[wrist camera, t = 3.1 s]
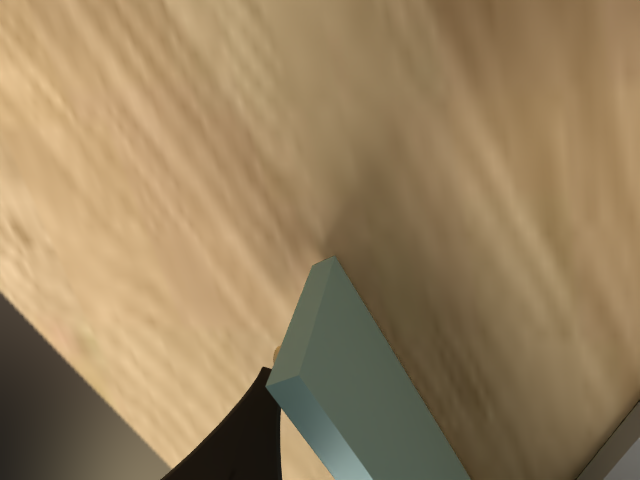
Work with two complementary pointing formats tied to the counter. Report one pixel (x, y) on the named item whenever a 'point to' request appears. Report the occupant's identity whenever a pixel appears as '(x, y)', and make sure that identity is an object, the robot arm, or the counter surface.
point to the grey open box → (618, 453)
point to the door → (354, 390)
